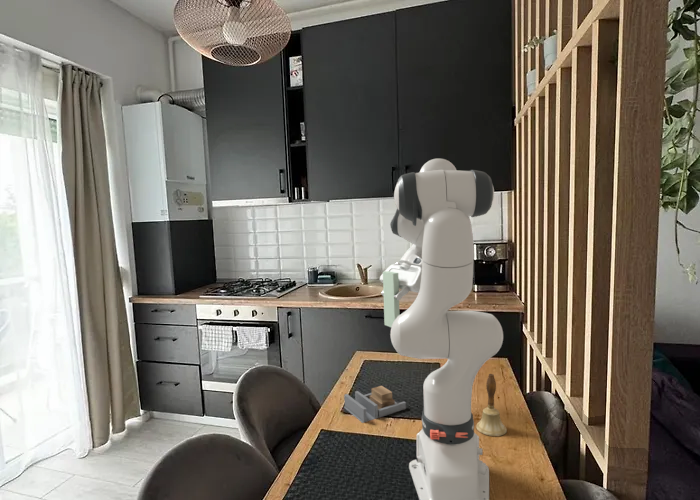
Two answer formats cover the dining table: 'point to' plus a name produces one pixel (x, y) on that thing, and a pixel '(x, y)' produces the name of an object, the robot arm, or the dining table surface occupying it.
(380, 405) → the bottom offcut
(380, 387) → the top offcut
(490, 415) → the hand bell
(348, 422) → the dining table surface
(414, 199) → the robot arm
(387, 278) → the sage panel
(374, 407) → the charcoal rack
